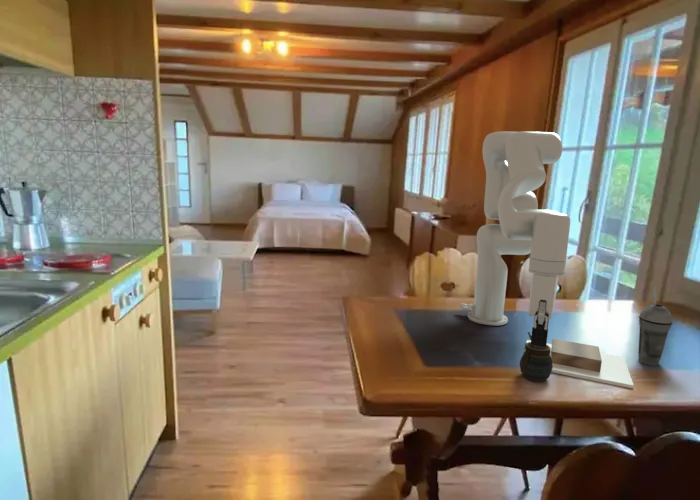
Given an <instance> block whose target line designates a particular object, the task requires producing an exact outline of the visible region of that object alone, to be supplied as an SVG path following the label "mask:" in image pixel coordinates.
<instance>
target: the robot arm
mask: <svg viewBox="0 0 700 500" xmlns="http://www.w3.org/2000/svg"><path fill="white" fill-rule="evenodd" d="M481 152H482V159H483V163H484V169H485V189H484V191H485V192H484V203H483V209H484V210H483V211H484V215H485V217H486V218H488V219H490V220H496V221H498V222H499V223H488V224H484V225H482V226H480V227H479V228H478V230H477V232H476V246H477V247H476V249H477V260H476V262H477V266H476V277H475V286H474V287H475V288H474V298H473V303H468V304H467V303H465V302H464V303H463V302H460V305H459V309H461V311H465V312H466V311H467V312H468V313H467V318H468V320H469V321H471V322H473V323H477V324H479V325H484V326H494V327H495V326H496V327H497V326H503V325H507V323H508V322H509V319H508V317H507V316H506V315H505V314H504V311H505V301H506V291H507V282H508V272H509V271H508V270H509V269H508V266H507V264H506V262H505V261H504V259H503V258H502V255H510V256H511V255H515V256H526V255H529V261H528V262H529V263H528V273H530V274H532V278H531V283H530V284H531V286H530V295H529V304H528V305H529V306H528V313H527V315H528V316H529V317H534V318H533V326H532V328H531V344H532V345H536V346H542V347H546V344H547V342H548V335H549V334H548V333H549V329H548V328H549V320H550V319H552V315H553V312H554V307H555V303H556V298H557V290H558V289H557V288H558V281H559V277H563V276H565V271H566V265H567V264H566V263H567V254H568V248H569V247H568V246H569V238H570V228H571V218H570V216H569V214H566V213H563V212H562V213H561V212H559V211H557V210H553V209H541V208H540V209H538V207H539V204H538V199H537V196H536V194H535V193H534V192H533V191H536V190H537V189H539V188H540V187H542V186H543V184H544V183H545V181H546V178H547V176H546V175H547V174H546V170H545V166H544V165H553V164H555V163H557V162H558V161H559V160H560V159H561V156H562V153H563V143H562V140H561V137H560V136H559V134H557V133H555V132H551V131H549V132H548V131H509V130H508V131H505V130H504V131H495V132H491V133H488V134H487V135H486V136H485V137H484V139H483V143H482V151H481Z"/></svg>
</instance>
